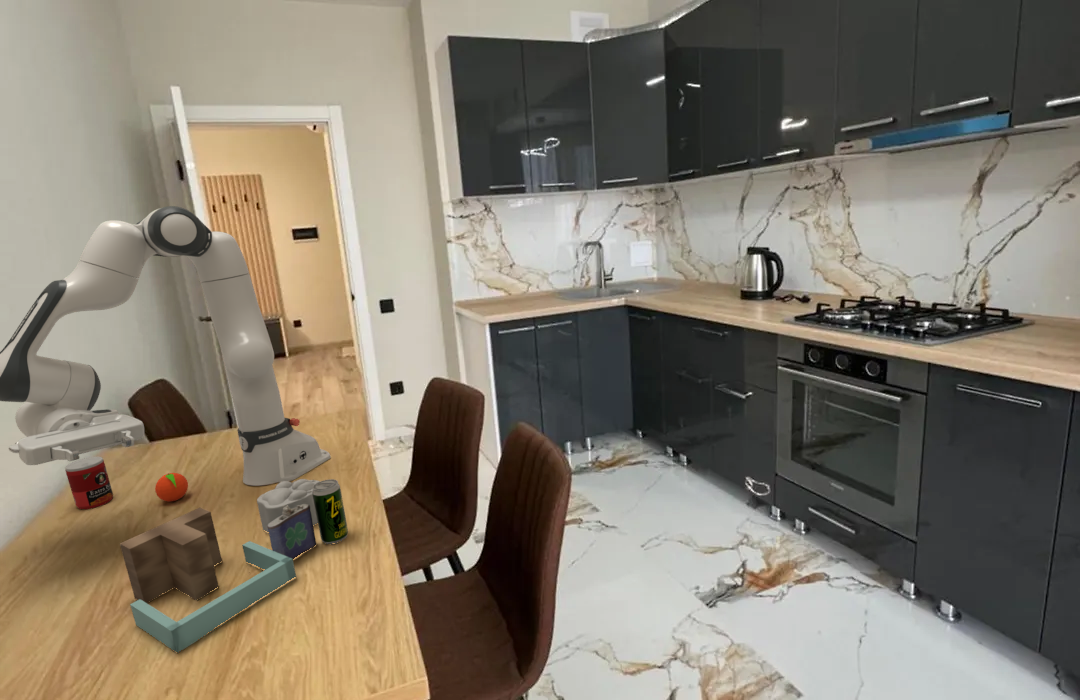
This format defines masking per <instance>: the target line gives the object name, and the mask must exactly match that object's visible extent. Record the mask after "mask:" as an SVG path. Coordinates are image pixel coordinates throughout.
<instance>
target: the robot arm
mask: <svg viewBox="0 0 1080 700" xmlns="http://www.w3.org/2000/svg"><path fill="white" fill-rule="evenodd" d="M155 256H156V257H168V258H178V257H182V256H183V257H186V258H188V259H189V260H190V262H192V264H193V265H194V268H195V270H196V272H197V277H198V281H199V282H200V286H201V290H202V294H203V297H204V300H205V303H206V307H207V309H208V312H209V316H210V318H211V322H212V324H213V328H214V330H215V335H216V338H217V341H218V343H219V347H220V350H221V356H222V360H223V363H224V369H225V373H226V374H225V375H226V377H227V380H228V381H227V382H228V385H229V389H230V395H231V399H232V403H233V409H234V414H235V417H236V422H237V427H238V428H237V430H236V431H237V435H238V436H237V437H238V441H239V445H240V448H241V451H242V456H243V475H242V476H243V477H242V482H243V484H245V485H247V486H266V485H273V484H275V483H277V484H278V483H280V482H282V481H289V482H291V481H295V480H297V479H298V478H299V477H301V476H303V475H305V474H307V473H308V472H310V471H311V470H313V469H315V468H317V467H318V466H320V465H322V464H323V463H325V462H326V461H328V460H330V459H331V454H330V452H329V451H327V450H325V449H322V448H321V447H320V445H319V443H318V441H317V439H316V438H315V437H314V436H312V435H309V434H307V433H305V432H302V431H299V430H298V429H294V428H293V426H294V427H298V426H299V425H300V424H301V422H300V419H298V418H296V417H293V418H288V417H285V414H284V409H283V403H282V399H281V397H282V396H281V394H280V389H279V386H278V385H279V384H278V382H277V379H276V374H275V370H274V367H273V364H274V360H275V352H274V349H273V345H272V342H271V338H270V335H269V332H268V329H267V326H266V323H265V320H264V317H263V314H262V310H261V308H260V306H259V302H258V298H257V296H256V293H255V289H254V284H253V281H252V277H251V275H250V271H249V268H248V264H247V262H246V259H245V257H244V254H243V252H242V249H241V248H240V245H239V244H238V242H237V240H236V238H234V236H232V235H231V234H230V233H227V232H223V231H211V230H210V229H209V228H208V227H207V226H206V225H205V223H203V221H202V220H200V219H199V218H198V216H197V215H195V214H194V212H192V211H190V210H188V209H186V208H183V207H181V206H174V205H170V206H169V205H168V206H164V207H161V208H160V207H159V208H157V209H155V210H152V211H151V212H150V213H148V215H147V216H146V217H144V218H143V219H141V220H139V221H138V222H137V223H135V224H133V223H130V222H127V221H123V220H116V219H115V220H114V219H112V220H111V219H110V220H106V221H103V222H101V223H100V224H98V225H97V227H96V229H95V230H94V231H93V233H92V234H91V236H90V238H89V239H88V240H87V242H86V244H85V246H84V248H83V251H82V253H81V255H80V257H79V260H78V262H77V264H76V266H75V268H73V270H72V271H71V272H70V273H69V274H68V275H67V276H66V277H64V278H62V279H59V280H52V281H51V282H50V283H49V284H48V285H47V286H45V288H44V289H43V290H42V291H41V292H40V294H39V295H38V297H37V298H36V299H35V301H34V302H33V303H32V305H31V307H30V308H29V310H27V313H26V314H25V316H24V317H23V318H22V320H21V322H20V324H19V325H18V326H17V328H16V329H15V331H14V333H13V334H12V335H11V337H10V339H9V340H8V342H7V343H6V345H4V347H3V348H2V349H1V350H0V402H5V403H6V402H7V403H10V402H11V403H21V405H20V406H19V408H17V410H16V413H15V417H14V419H15V423H16V427H17V428H18V429H19V430H20V433H22V434H23V435H24V436H25V437H22V438H20V439H19V440H18V441H17V442H15V443H14V444H11V445H9V446H8V451H9V452H11V453H13V454H18V455H19V459H20V460H21V461H22V462H23V464H25V465H27V466H38V465H42V464H45V463H50V462H54V461H61V460H62V461H67V462H75V461H77V460H80V455H82V454H85V453H89V452H94V451H99V450H102V449H107V448H111V447H115V446H118V445H119V446H120V445H121V447H124V448H128V447H132V446H135V441H140V440H141V439H144V437H145V426H144V423H143V421H142V420H141V419H139V418H135V417H133V416H131V415H128V414H124V413H123V414H122V413H119V410H117V409H115V408H114V409H113V408H112V409H111V408H110V409H108V408H107V409H96V410H95V409H94V410H92V409H93V408H94V406H95V405H96V402H97V401H98V399H99V396H100V393H101V389H102V384H101V380H100V377H99V375H98V373H97V372H96V370H95V369H94V368H93V367H92V366H91V365H89V364H86V363H81V362H76V361H71V360H65V359H64V360H61V359H57V358H51V357H46V356H40V355H37V353H38V351H39V350H40V349H41V347H42V345H43V344H44V343H45V340H46V339H47V337H48V336H49V334H50V332H51V331H52V330H53V328H54V327H55V325H56V323H57V322H58V321H59V320H60V319H62V318H63V317H65V316H67V315H70V314H73V313H79V312H88V311H89V312H90V311H104V310H110V309H114V308H117V307H119V306H121V305H123V304H125V303H126V302H128V301H129V300H130V298H131V297H132V296H133V294H134V292H135V290H136V288H137V285H138V282H139V279H140V276H141V274H142V271H143V268H144V266H145V264H146V262H147V261H148V260H149V259H150V258H151V257H155Z"/></svg>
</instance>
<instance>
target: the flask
mask: <svg viewBox="0 0 1080 700" xmlns="http://www.w3.org/2000/svg"><path fill="white" fill-rule="evenodd" d="M284 506H286V505H283V506H282V507H284ZM280 509H282V508H280ZM267 527H268V532H269V533H268V535H269V541H270V546H271V550H272V551H275V552H277V553H280V554H282V555H285V556H287V557H289V558H292V559H294V558H295V557H297V556H298V555H300V554H301V553H303V552H305V551H307V550H309V549H310V548H312V549H314V548H315V547H314V546H315V545H316V544H317V540H316V535H315V529H314V527H315V526H313V523H312V516H311V511H310V505H307V504H302V505H298V506H296V507H295V508H293V509H291V508H289V506H288V505H287V506H286V507H284V508H283V515H281V516H279V517H278V518H276V519H275V520H273V521H272V522H270V523H269V524H268V525H267ZM316 546H317V545H316ZM313 547H314V548H313ZM309 551H310V550H309ZM307 552H308V551H307Z"/></svg>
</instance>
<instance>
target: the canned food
mask: <svg viewBox="0 0 1080 700" xmlns="http://www.w3.org/2000/svg"><path fill="white" fill-rule="evenodd" d="M64 469H65V473H66V475H65V476H66V477H67V481H68V484H69V487H70V490H71V493H72V494H71V495H72V498H73V500H74V504H75V506H76V507H77V509H78V508H79V509H78V510H82V509H85V510H91V508H92V509H96V508H99V507H101V506H104V505H106V504H108V503H109V502H111V501H112V500H113V498H114V493H113V489H112V486H111V482H110V478H109V473H108V471H107V467H106V464H105V460H104V458H103V457H101V456H89V457H84V458H79V459H77V460H74V461H71V462H70V463H68V464H67V465H65V467H64Z"/></svg>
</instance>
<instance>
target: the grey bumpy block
mask: <svg viewBox="0 0 1080 700" xmlns="http://www.w3.org/2000/svg"><path fill="white" fill-rule="evenodd" d="M320 481H321V480H320ZM320 481H319V480H316V479H306V478H300V479H296V480H293V482H291V481H282V482H278V483H277V484H276V486H275V488H274V489H270V490H269V491H268V490H267V491H266V492H265V493H262V494H260V495H259V497H257V499H256V502H257V503H256V504H257V509H258V513H259V518H260V522H261V527H262V530H265V531H267V532H268V527H267V525H268V524H269V523H270V522H272V521H273V520H275V519H276V518H278V517H279V516H281V515H283V508H284V507H286V506H287V505H288V506H289V508H291V509H293V508H295V507H296V506H298V505H302V504H307V505H310V511H311V516H312V523H313V525H314V526H316V525H318V524H317V523H318V521H317V515H316V510H315V505H314V500H313V495H312V491H313V488H312V487H313V486H314V485H315V484H316V483H318V482H320ZM283 505H286V506H284V507H282V506H283ZM280 508H282V509H280ZM315 524H316V525H315ZM267 532H266V533H267Z"/></svg>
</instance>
